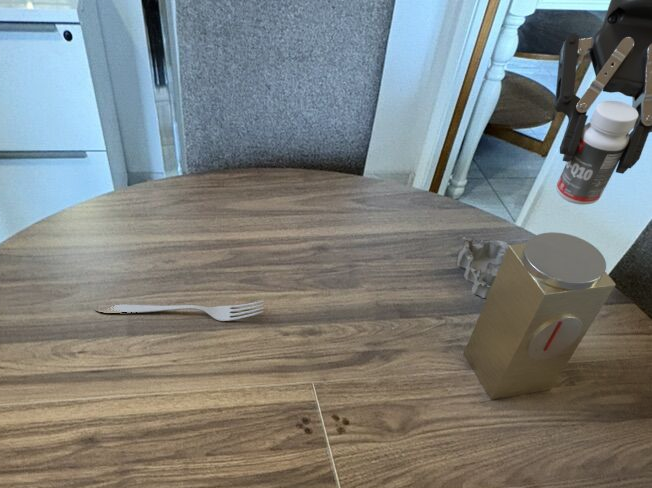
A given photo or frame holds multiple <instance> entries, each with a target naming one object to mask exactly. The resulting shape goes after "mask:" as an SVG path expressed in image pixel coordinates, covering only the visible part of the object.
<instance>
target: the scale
mask: <svg viewBox="0 0 652 488" xmlns="http://www.w3.org/2000/svg"><path fill="white" fill-rule="evenodd" d="M508 245H509V246H508V249H507V251H506V253H505V256H504V258H503V260H502V263H501V265H500V268H499V270H498V272H497V275H496V277H495V280H494V282H493V284H492V287H491V289H490V291H489V294H488V296H487V298H485V301H484V304H483V305H482V308H481V310H480V313H479V315H478V318H477V320H476V322H475V325H474V327H473V330H472V332H471V335H470V337H469V339H468V342H467V344H466V346H465V349H464V351H463V355H464V356H465V358H466V360H467V362H468V363H469V365H470V366H471V368H472V370H473V372H474V373H475V375H476V377H477V378H478V381H479V383H480V384H481V385H482V387H483V389H484V391H485V393H486V394H487V396H488V398H489V399H490V400H491V401H493V400H497V399H498V400H499V399H504V398H510V397H516V396H522V395H528V394H533V393H540V392H546V391H550V390H552V389H553V387H554V385H555V383H556V382H557V380H558V379H559V377H560V375H561V374H562V372H563V371H564V369H565V368H566V366H567V364H568V363H569V361H570V359H571V358H572V356H573V355H574V353H575V351H576V350H577V349H578V346H579V345H580V344H581V342H582V340H583V338H584V337H585V335H586V334H587V332H588V330H589V329H590V328H591V326H592V325H593V322H594V321H595V319H596V317H597V316H598V315H599V313H600V311H601V310H602V308H603V306H604V305H605V304H606V301H607V300H608V298H609V297H610V295H611V294H612V292H613V290H614V288H615V287H616V285H617V284H616V283H615V281H614V280H613V279H612V278H611V276H609V274H608V273H607V272H606V270H607V262H606V259H605V257H604V255H603V254H602V252H601V251H600V250H599V249H598V248H597V247H596V246H595V245H593V244H592V243H590V242H589V241H587V240H585V239H583V238H581V237H578V236H577V235H572V234H568V233H563V232H552V231H551V232H543V233H539V234H535V235H534V236H532V237H531V238H529V239H528V240H527V241H526V242H523V243H515V244H514V243H513V244H508Z"/></svg>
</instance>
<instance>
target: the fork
mask: <svg viewBox="0 0 652 488" xmlns="http://www.w3.org/2000/svg"><path fill="white" fill-rule="evenodd" d="M264 303H265V300H260V301H256V302H249V303H242V304H233V305H219V306H211V307H210V306H209V307H208V306H204V305H203V306H202V305H196V304H195V305H194V304H183V305H180V304H179V305H178V304H177V305H155V304H154V305H152V304H122V305H121V303H119V304H120V305H115V306H114V307H113V306H112V307H113V308H114V311H116V310H117V311H119V310H120V311H119V312H121V311H122V312H127V313H126V314H137V313H153V312H165V311H166V312H167V311H178V310H197V311H201V312H204V313H205V314H207V315H209V317H211V318H213V319H214V320H216V321H219V322H227V321H228V322H230V321H235V320H240V319H244V318H249V317H253V316H257V315H260V314H264V311H263V310H264V309H265V308H264V306H265V304H264ZM112 307H110V308H111V309H112V310H113V308H112ZM108 309H109V308H108ZM112 310H111V311H112ZM131 312H132V313H131ZM136 312H137V313H136Z"/></svg>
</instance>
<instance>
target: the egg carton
mask: <svg viewBox="0 0 652 488" xmlns="http://www.w3.org/2000/svg"><path fill="white" fill-rule="evenodd" d="M461 240H462V241H464V247H463V249H462V250H460V252H459V254H458V258H457V261H456V264H457V267H460V268H463V269H464V270H465V271H464V273H463V278H465V280H466V281H468V282H471V283H473V286H472V288H471V293H472V295H475V296H479V297H481V298H482V299H487V296H488V294H489V291H490V289H491V287H492V284H493V282H494V280H495V277H496V275H497V272H498V270H499V268H500V265H501V263H502V260H503V258H504V256H505V253H506V251H507V249H508V246H509V245H510V244H509V243H508V242H506V241H503V240H493V239H490V240H489V241H485V240H484V239H482V240H480V241H479V243H477V244H473V239H472V238H467V237H466V236H465V235H462V237H461Z"/></svg>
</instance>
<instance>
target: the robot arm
mask: <svg viewBox="0 0 652 488" xmlns="http://www.w3.org/2000/svg"><path fill="white" fill-rule="evenodd" d="M587 54H589V56H590V61H591V65H592V68H593V71H594V75H595V78H594V79H593V80H592V82H591V83H590V85H589V86H588V88H587V89H586V91H584V93H583V95H582V96H581V97H579V96H577V95H576V94H575V85H576V76H577V67H578V66H580V65H581V63H582V61H583V60H584V58H585V55H587ZM602 92H604V93H609V94H612V93H613V94H614V93H620V94H622V95H624V96H625V97H630V98H632V104H631V106H632V107H633V108H635V109H636V110H637V112H638V118H637V120H636V122H635V124H634V127H633V129H632V130H631V131H630V132H629V137H630V138H629V143H628V145H627V147H626V149H625V151H624V152H623V154H622V156H621V158H620V160H619V162H618V164H617V166H616V168H615V173H617V174H622V175H623V174H624V173H626V171H628V169H632V168H633V166H635V165H636V163H637V162H638V161H639V160H640V159H641V156H642V153H643V150H644V147H645V145H646V142H647V139H648V137H649V135H650V133H652V0H610V2H609V4H608V8H607V10H606V14H605V16H604V19H603V23H602V25H601V27H600V29H599V30H597V32H596V33H595V35H594V36H593V37H584V38H580V37H579V35H578V34H577V33H570V34H569V35H568V36H567V37H566V38H565V40H564V42H563V45H562V47H561V49H560V51H559V55H558V67H557V77H556V89H555V97H554V98H555V99H554V110H555V111H556V113H563V114H564V115H565V116H567V118H568V122H567V125H566V128H565V130H564V134H563V137H562V139H561V142H560V146H559V154H560V155H563V157H562V159H561V160H562V162H566V163H567V162H570V161H571V159H572V158H573V156H574V154H575V152H576V149H577V146H578V143H579V140H580V138H581V135H582V132H583V129H584V126H585V125H586V124H587V120H588V117H589V115H587V113H588V111H589V110H590V108H591V106H592V105H593V104H594V103H595V101H596V100H597V99H598V97H599V96H600V94H601V93H602Z"/></svg>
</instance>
